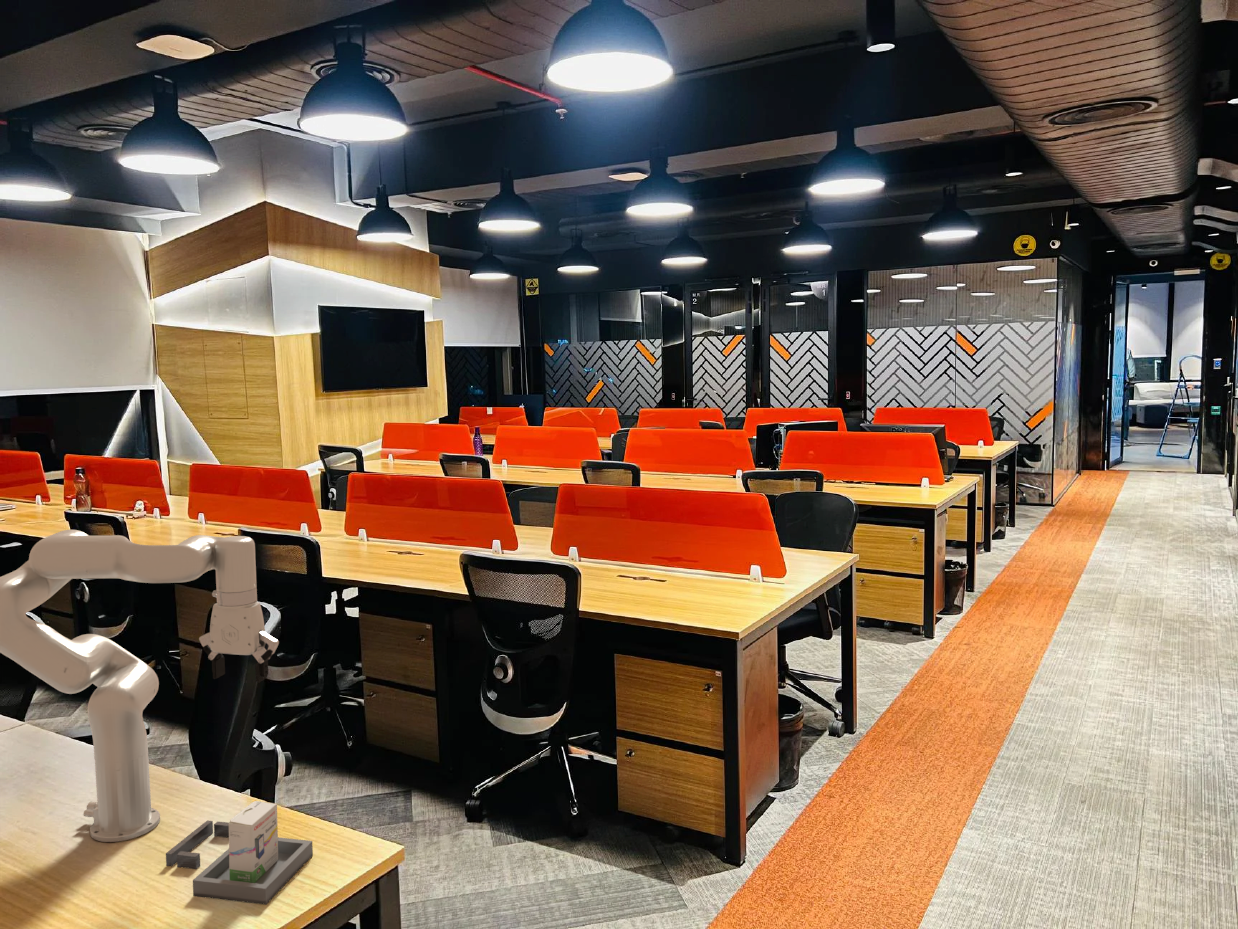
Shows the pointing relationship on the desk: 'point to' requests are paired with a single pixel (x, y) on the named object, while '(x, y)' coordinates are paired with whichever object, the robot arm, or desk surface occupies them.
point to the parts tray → (266, 887)
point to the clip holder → (194, 845)
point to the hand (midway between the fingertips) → (240, 678)
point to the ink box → (253, 841)
